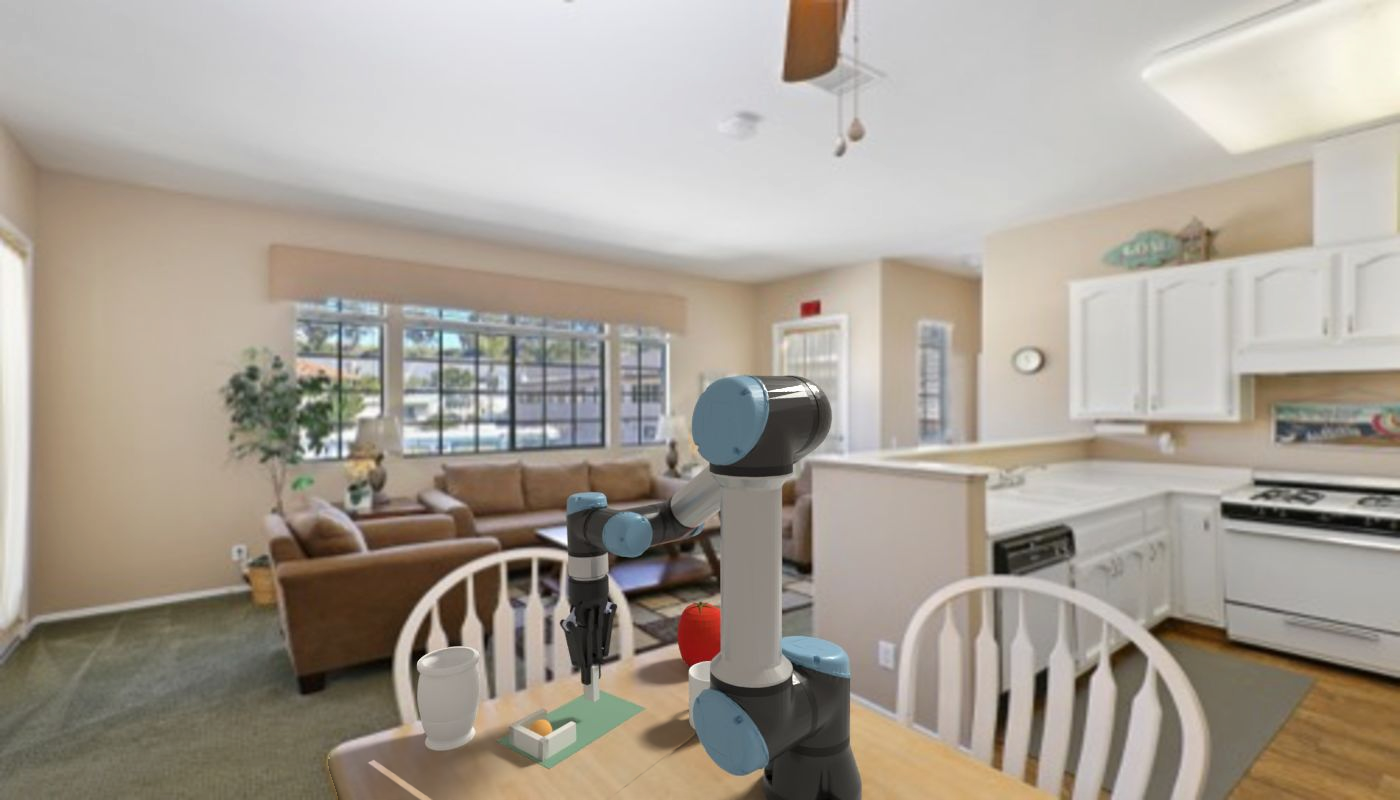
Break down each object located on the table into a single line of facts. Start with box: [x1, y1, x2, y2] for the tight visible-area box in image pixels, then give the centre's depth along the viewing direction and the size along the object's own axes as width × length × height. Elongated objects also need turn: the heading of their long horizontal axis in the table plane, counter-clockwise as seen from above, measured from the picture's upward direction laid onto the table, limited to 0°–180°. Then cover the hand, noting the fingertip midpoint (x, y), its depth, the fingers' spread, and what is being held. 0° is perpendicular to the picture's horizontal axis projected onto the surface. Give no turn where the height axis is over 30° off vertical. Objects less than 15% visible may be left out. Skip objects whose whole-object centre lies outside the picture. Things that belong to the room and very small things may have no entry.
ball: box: [529, 719, 552, 737], centre depth 113 cm, size 4×4×4 cm
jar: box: [416, 645, 481, 752], centre depth 115 cm, size 11×10×15 cm
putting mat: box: [496, 689, 647, 770], centre depth 119 cm, size 14×24×1 cm, turn 144°
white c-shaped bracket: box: [508, 707, 576, 761], centre depth 113 cm, size 9×7×3 cm
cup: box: [688, 661, 711, 730], centre depth 121 cm, size 8×12×10 cm
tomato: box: [676, 601, 721, 668], centre depth 145 cm, size 13×11×14 cm
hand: (591, 698), depth 122 cm, fingers closed
